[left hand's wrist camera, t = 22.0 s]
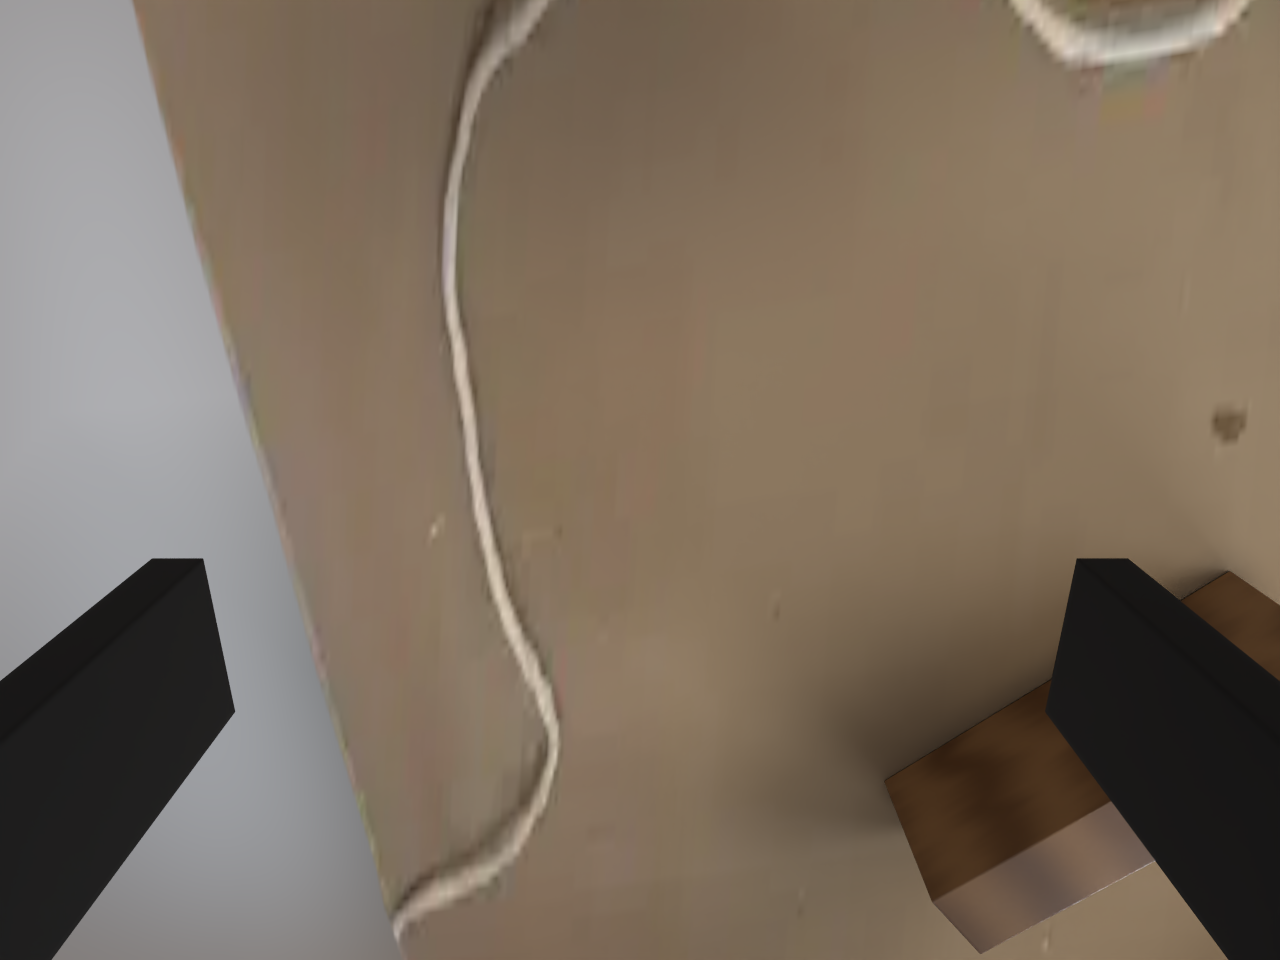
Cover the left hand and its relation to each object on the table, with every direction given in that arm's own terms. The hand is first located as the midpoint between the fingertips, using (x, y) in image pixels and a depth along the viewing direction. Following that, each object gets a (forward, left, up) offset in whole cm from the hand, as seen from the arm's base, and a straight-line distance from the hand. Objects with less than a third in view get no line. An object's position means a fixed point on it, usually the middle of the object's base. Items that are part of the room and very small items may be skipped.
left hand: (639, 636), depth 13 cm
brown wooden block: (+25, +27, -32) cm, 49 cm away
